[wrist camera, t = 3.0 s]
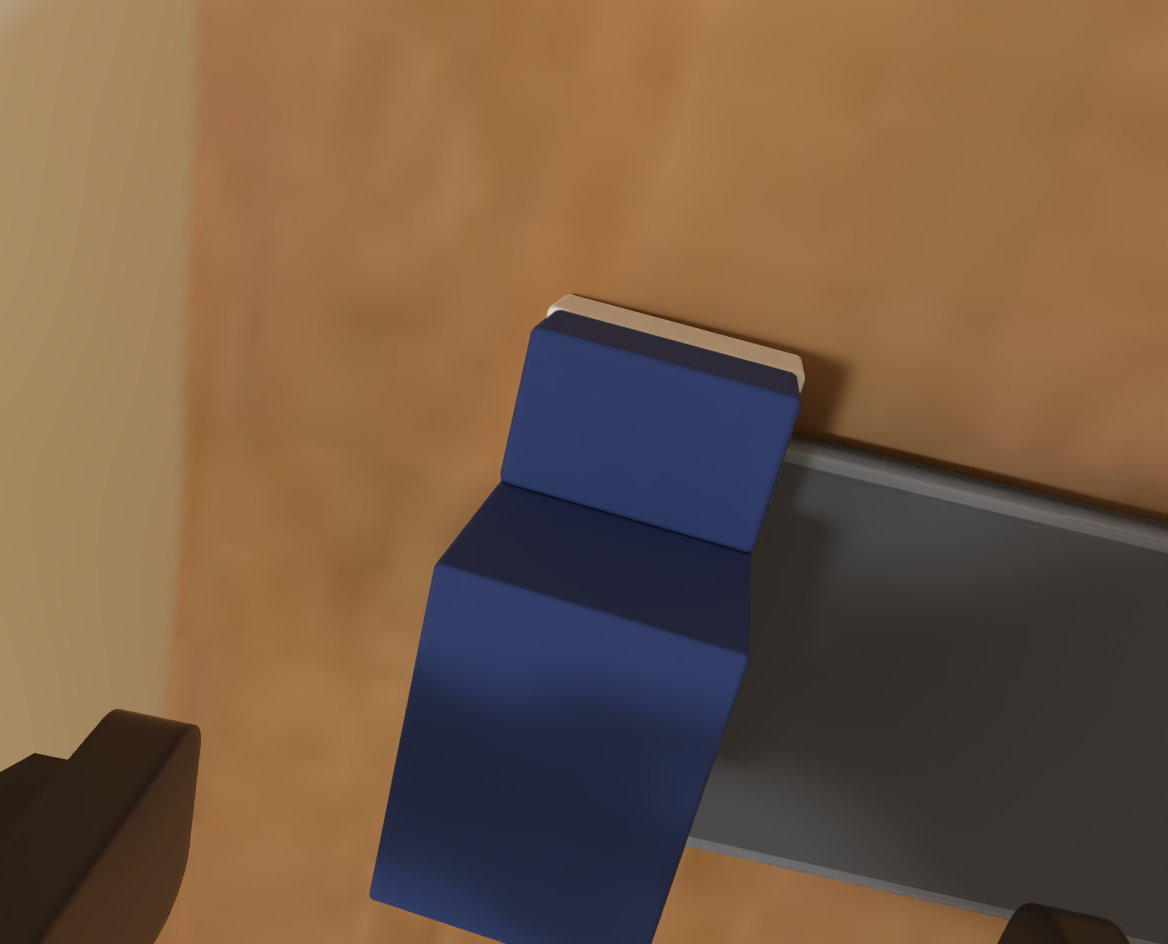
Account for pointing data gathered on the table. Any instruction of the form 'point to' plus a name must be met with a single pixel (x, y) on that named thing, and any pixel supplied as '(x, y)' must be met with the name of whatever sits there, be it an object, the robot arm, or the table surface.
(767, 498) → the blue stepped block
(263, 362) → the table surface
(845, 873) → the smartphone
